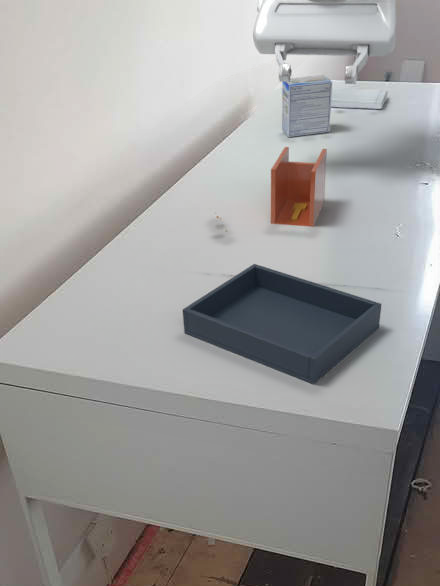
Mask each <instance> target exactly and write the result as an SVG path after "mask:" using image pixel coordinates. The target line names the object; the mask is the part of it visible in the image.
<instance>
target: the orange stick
mask: <svg viewBox="0 0 440 586" xmlns="http://www.w3.org/2000/svg"><path fill="white" fill-rule="evenodd" d="M214 214H217V212H215V213H214ZM216 218H219V220H222V218H221V217H219V216H218V215H216ZM221 226H224V224H221ZM225 232H228V230H225Z"/></svg>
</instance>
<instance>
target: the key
mask: <svg viewBox="0 0 440 586" xmlns="http://www.w3.org/2000/svg"><path fill="white" fill-rule="evenodd" d="M306 208H307V204H306V203H295V204H294V206H293V210H295V211H294V213H293V215H292V217H291V220H297V219H298V217H299V215H300V213H301V211H305V210H306Z"/></svg>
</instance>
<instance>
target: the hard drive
mask: <svg viewBox="0 0 440 586" xmlns="http://www.w3.org/2000/svg"><path fill="white" fill-rule="evenodd" d="M388 92H389V91H388V90H384V89H383V90H380V89H361V88H360V89H358V88H338V87H332V94H331V108H344V109H345V108H346V109H348V108H349V109H369V110H370V109H373V110H382V109H383V107H384V104H385V103H386V101H387V99H388Z"/></svg>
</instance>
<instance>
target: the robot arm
mask: <svg viewBox="0 0 440 586" xmlns="http://www.w3.org/2000/svg"><path fill="white" fill-rule="evenodd" d="M397 9H398V8H397V0H258V2H257V9H256V10H257V15H256V18H255V22H254V26H253V31H252V39H253V43H254V47H255V49H256V50H257V52H258V53H259V54H261V55H274V56H275V60H276V62H277V65H278V67H279V68H278V69H279V70H278V82H280V83H281V82H290V79H291V77H292V73H293V71H292V67H291V64H290V63H285V61H286V60H287V57H288V55H289V56H290V55H292V56H331V57H333V56H335V57H336V56H337V57H338V56H339V57H356V60H355V61H354V63H352V64H351V65H346V67H345V74H344V84H345V85H356V84H357V80H358V79H357V78H358V74H359V73H360V72H361V71H362V70H363V68H364V67H365V65H367V63H368V59H369V57H381V58H383V57H384V58H385V57H389V56H390V55H391V54H392V53H393V52H394V51H395V49H396V42H397V26H398V25H397V22H398V21H397V19H398V18H397V17H398V13H397V12H398V10H397Z"/></svg>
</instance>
